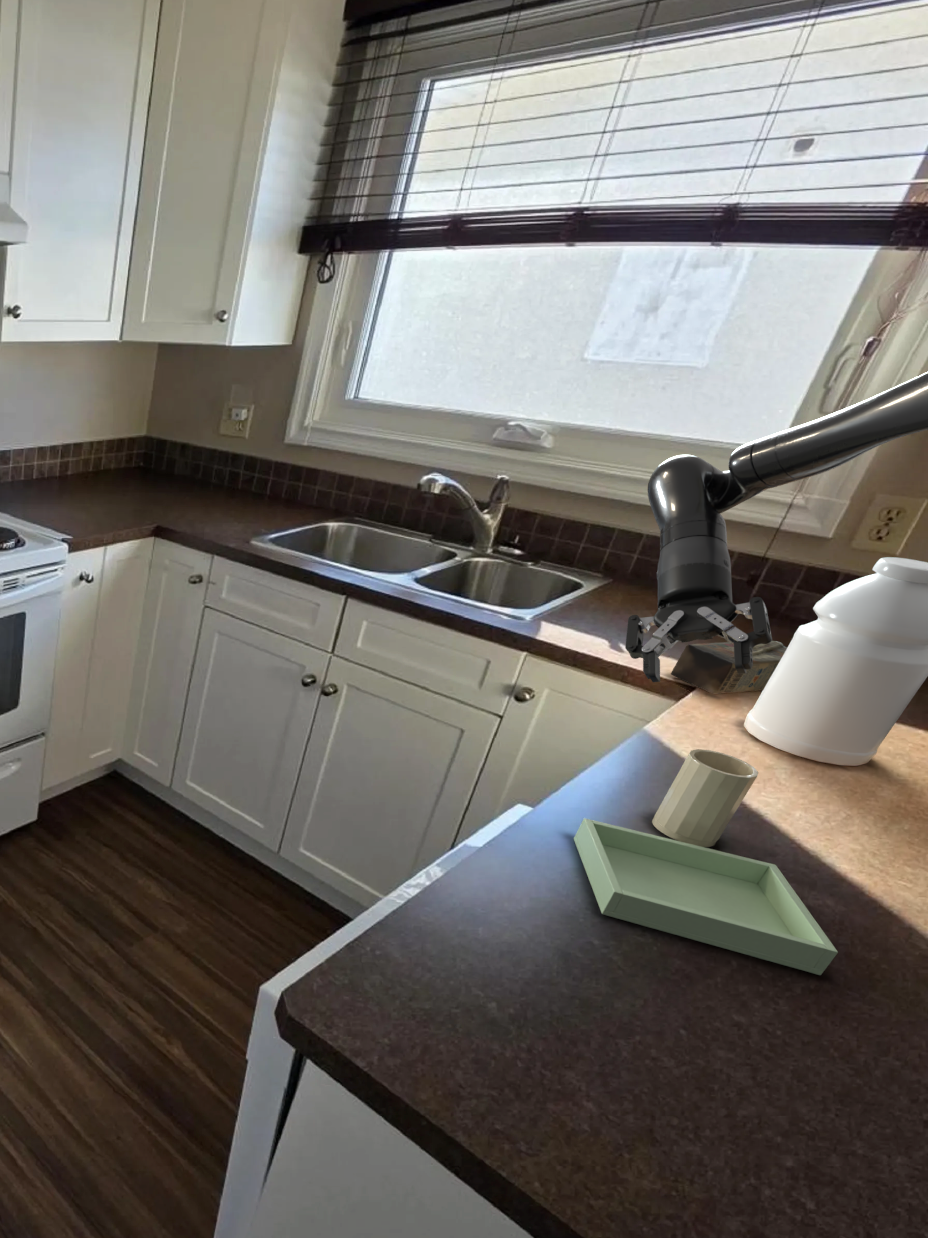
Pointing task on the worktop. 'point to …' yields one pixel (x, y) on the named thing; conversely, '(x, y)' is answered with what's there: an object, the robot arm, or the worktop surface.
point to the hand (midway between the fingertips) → (695, 675)
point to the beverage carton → (727, 667)
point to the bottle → (849, 668)
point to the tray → (701, 895)
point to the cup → (704, 797)
